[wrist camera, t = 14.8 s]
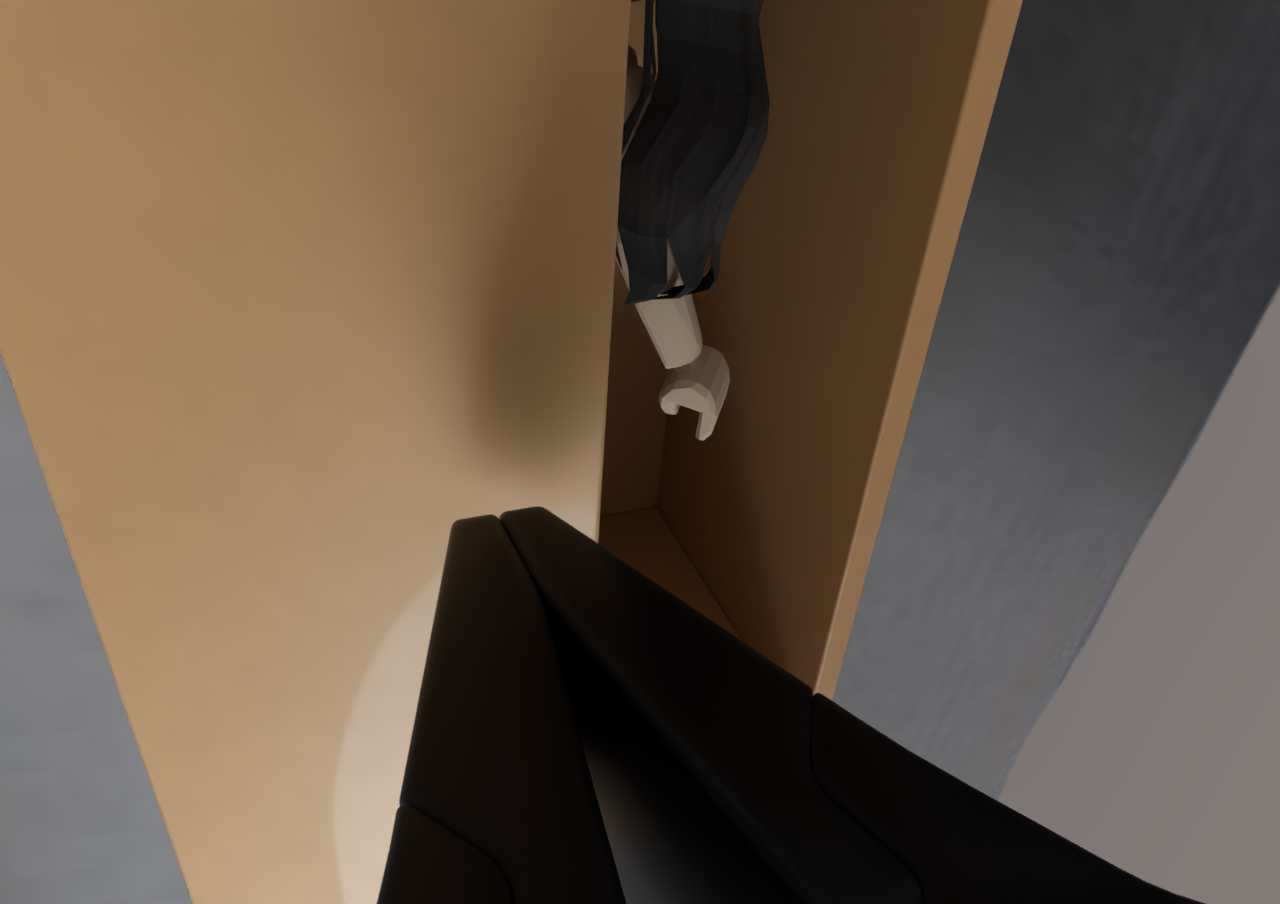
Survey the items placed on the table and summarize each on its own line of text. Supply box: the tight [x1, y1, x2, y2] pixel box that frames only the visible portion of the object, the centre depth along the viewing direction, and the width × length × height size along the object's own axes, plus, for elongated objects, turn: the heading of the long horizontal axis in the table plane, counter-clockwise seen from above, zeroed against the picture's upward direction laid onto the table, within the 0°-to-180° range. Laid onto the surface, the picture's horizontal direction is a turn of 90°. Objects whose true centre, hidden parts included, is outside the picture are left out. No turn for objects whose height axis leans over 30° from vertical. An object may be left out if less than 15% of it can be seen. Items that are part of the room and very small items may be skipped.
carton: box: [598, 0, 1023, 700], centre depth 14 cm, size 18×11×8 cm, turn 176°
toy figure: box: [615, 0, 770, 441], centre depth 14 cm, size 7×6×15 cm
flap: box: [0, 0, 631, 904], centre depth 9 cm, size 18×5×1 cm, turn 176°
